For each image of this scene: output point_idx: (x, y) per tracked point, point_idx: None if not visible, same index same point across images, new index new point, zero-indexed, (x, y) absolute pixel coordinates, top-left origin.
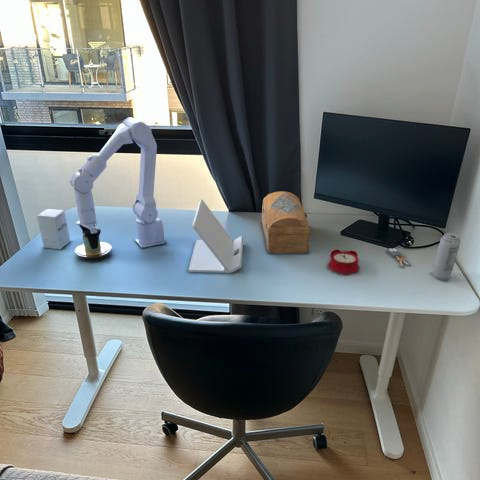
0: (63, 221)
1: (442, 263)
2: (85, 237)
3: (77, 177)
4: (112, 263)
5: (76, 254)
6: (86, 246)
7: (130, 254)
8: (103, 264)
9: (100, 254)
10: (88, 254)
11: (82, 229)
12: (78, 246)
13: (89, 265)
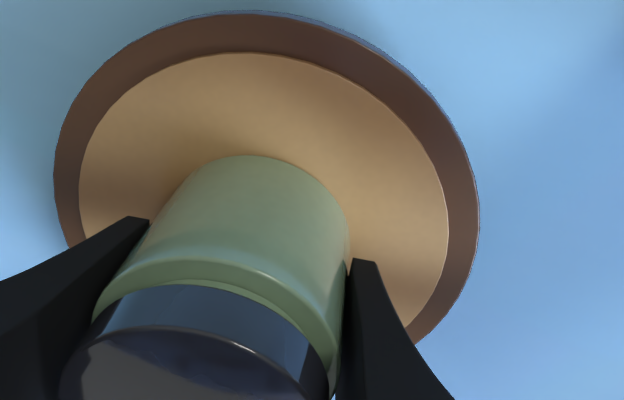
0: None
1: None
2: (159, 290)
3: None
4: (16, 238)
5: (223, 14)
6: (189, 193)
7: None
8: (23, 174)
9: (84, 232)
10: (120, 134)
11: (362, 398)
12: (444, 139)
13: (49, 57)
